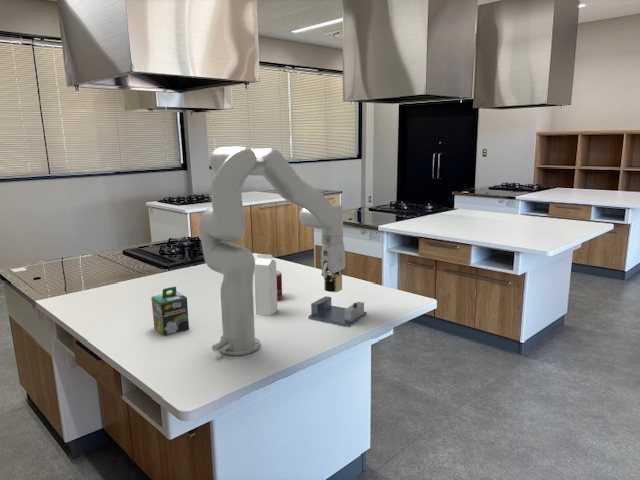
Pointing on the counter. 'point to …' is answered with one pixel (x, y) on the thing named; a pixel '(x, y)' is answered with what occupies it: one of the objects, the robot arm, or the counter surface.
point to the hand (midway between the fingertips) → (333, 289)
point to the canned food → (279, 285)
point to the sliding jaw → (354, 311)
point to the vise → (329, 312)
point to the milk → (265, 285)
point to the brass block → (335, 282)
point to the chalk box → (170, 312)
